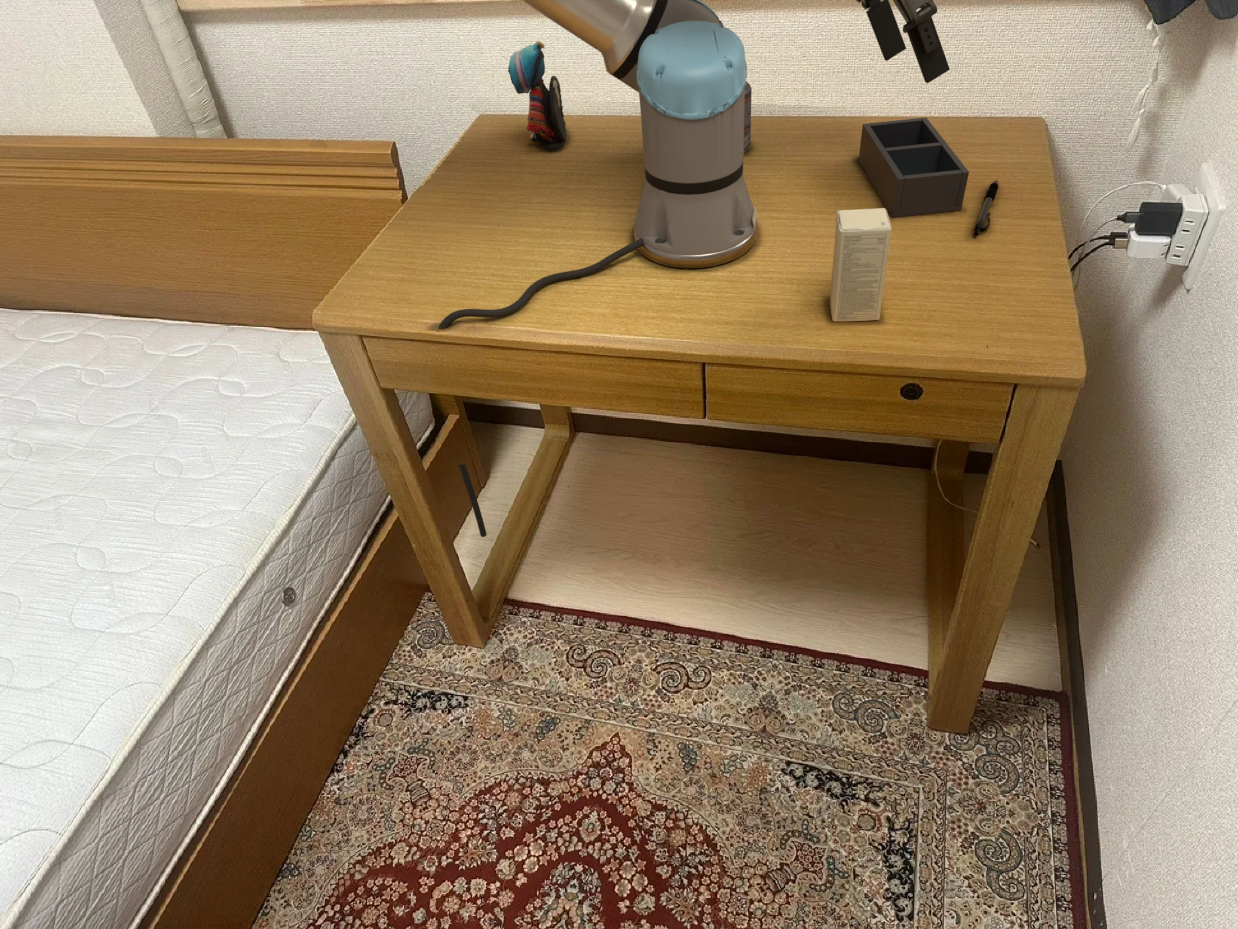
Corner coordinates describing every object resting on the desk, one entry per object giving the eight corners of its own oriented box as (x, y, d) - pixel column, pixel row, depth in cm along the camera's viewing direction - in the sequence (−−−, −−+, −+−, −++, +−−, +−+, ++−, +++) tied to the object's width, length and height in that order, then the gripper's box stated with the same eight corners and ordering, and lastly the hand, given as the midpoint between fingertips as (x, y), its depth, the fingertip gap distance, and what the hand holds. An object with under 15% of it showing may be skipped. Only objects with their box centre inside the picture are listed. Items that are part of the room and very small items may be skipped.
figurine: (529, 128, 135) (513, 27, 124) (573, 127, 134) (561, 24, 123) (517, 156, 128) (499, 51, 117) (563, 155, 127) (549, 49, 116)
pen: (984, 239, 101) (987, 231, 100) (970, 237, 101) (972, 228, 101) (1004, 186, 109) (1006, 177, 109) (990, 184, 110) (992, 176, 109)
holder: (892, 217, 106) (898, 178, 103) (858, 160, 118) (862, 123, 115) (961, 210, 106) (969, 171, 103) (920, 153, 118) (926, 116, 114)
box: (875, 299, 94) (889, 206, 87) (880, 321, 91) (895, 228, 84) (826, 299, 95) (836, 208, 87) (829, 322, 92) (840, 229, 84)
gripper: (925, -140, 81) (990, 66, 92) (845, -139, 101) (906, 29, 112) (852, -90, 82) (925, 106, 94) (788, -99, 103) (854, 62, 114)
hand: (915, 64), depth 103 cm, fingers open, 13 cm apart
